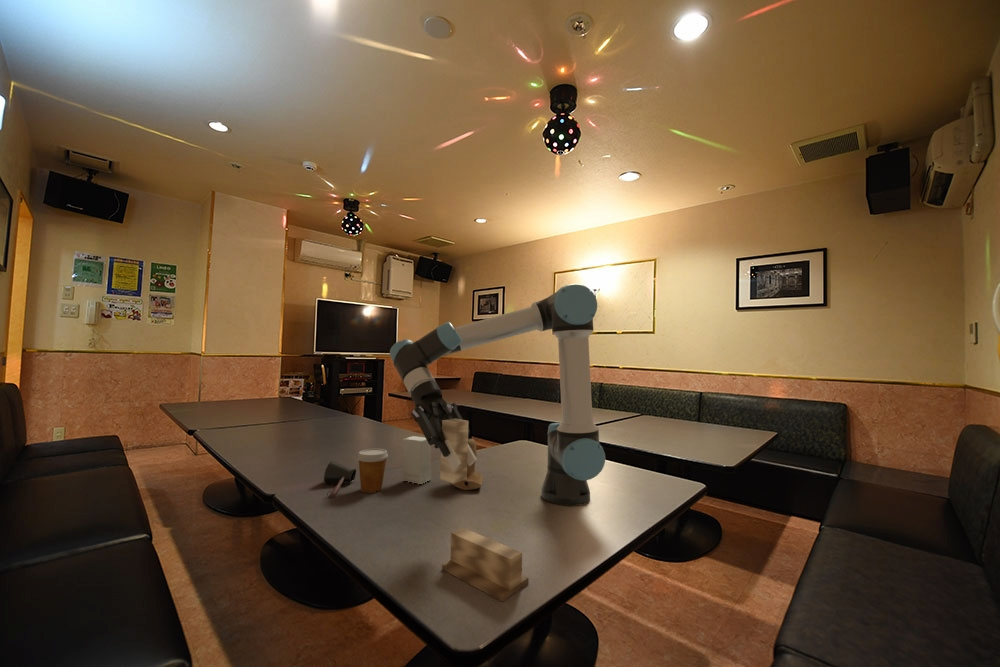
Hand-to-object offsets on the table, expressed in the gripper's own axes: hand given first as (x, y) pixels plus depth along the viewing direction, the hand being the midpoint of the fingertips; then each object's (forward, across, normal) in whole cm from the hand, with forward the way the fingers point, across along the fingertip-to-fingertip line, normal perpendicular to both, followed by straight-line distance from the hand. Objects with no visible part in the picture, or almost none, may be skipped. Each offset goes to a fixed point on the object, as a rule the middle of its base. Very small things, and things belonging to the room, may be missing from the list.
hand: (465, 464), depth 94 cm
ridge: (+22, +6, -4) cm, 23 cm away
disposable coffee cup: (-21, -6, -47) cm, 51 cm away
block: (0, 0, -6) cm, 6 cm away
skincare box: (-18, -21, -44) cm, 52 cm away
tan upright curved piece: (-8, -30, -35) cm, 47 cm away
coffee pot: (-27, +2, -54) cm, 61 cm away
